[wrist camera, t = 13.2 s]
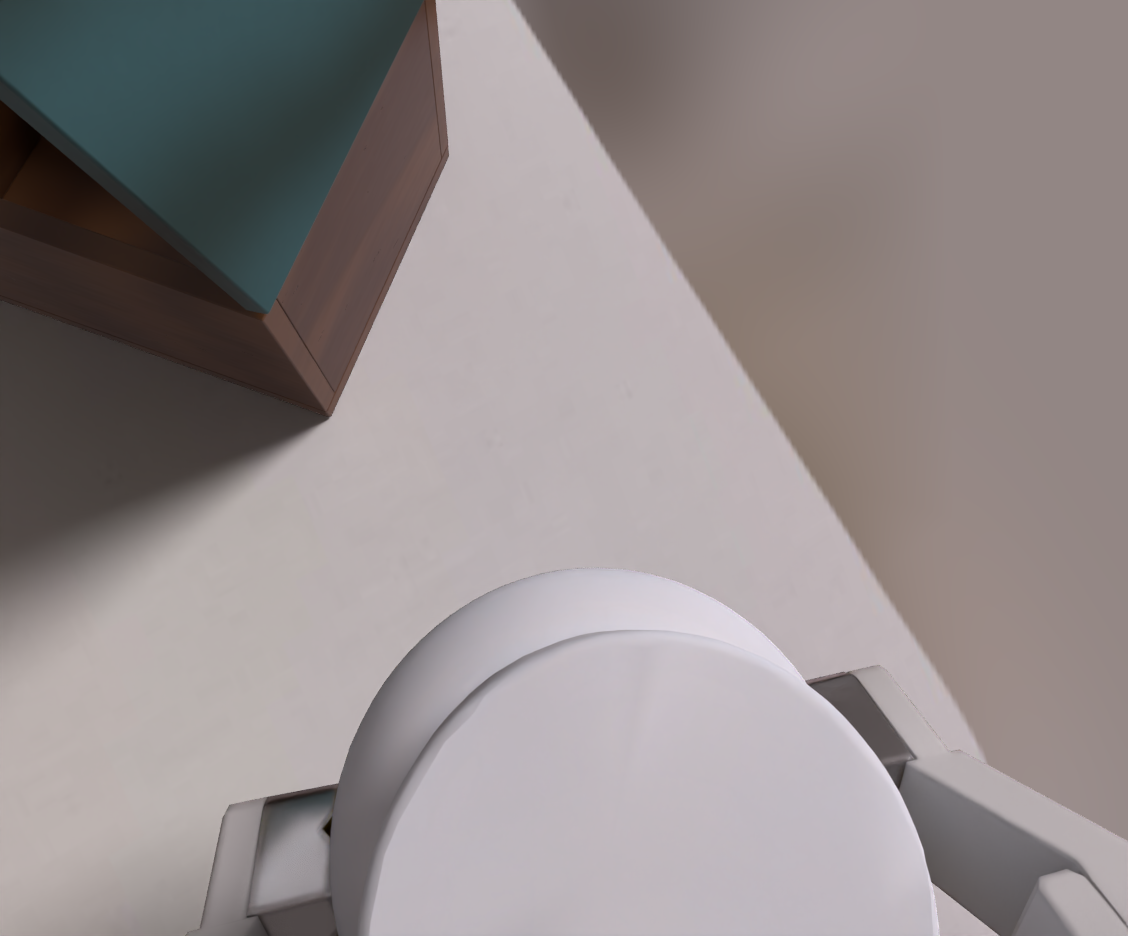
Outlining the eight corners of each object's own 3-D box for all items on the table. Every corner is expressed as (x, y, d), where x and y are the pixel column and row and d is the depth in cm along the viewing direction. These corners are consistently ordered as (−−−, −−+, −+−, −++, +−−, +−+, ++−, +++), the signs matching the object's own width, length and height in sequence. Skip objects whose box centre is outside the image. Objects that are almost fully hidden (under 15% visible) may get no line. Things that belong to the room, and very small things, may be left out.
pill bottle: (635, 568, 18) (870, 431, 7) (730, 841, 17) (1206, 1217, 6) (371, 654, 17) (144, 657, 6) (451, 952, 16) (355, 1688, 5)
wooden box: (-53, 281, 29) (-283, 125, 20) (105, 31, 32) (-36, -195, 23) (331, 418, 29) (262, 321, 20) (449, 155, 32) (433, -25, 23)
